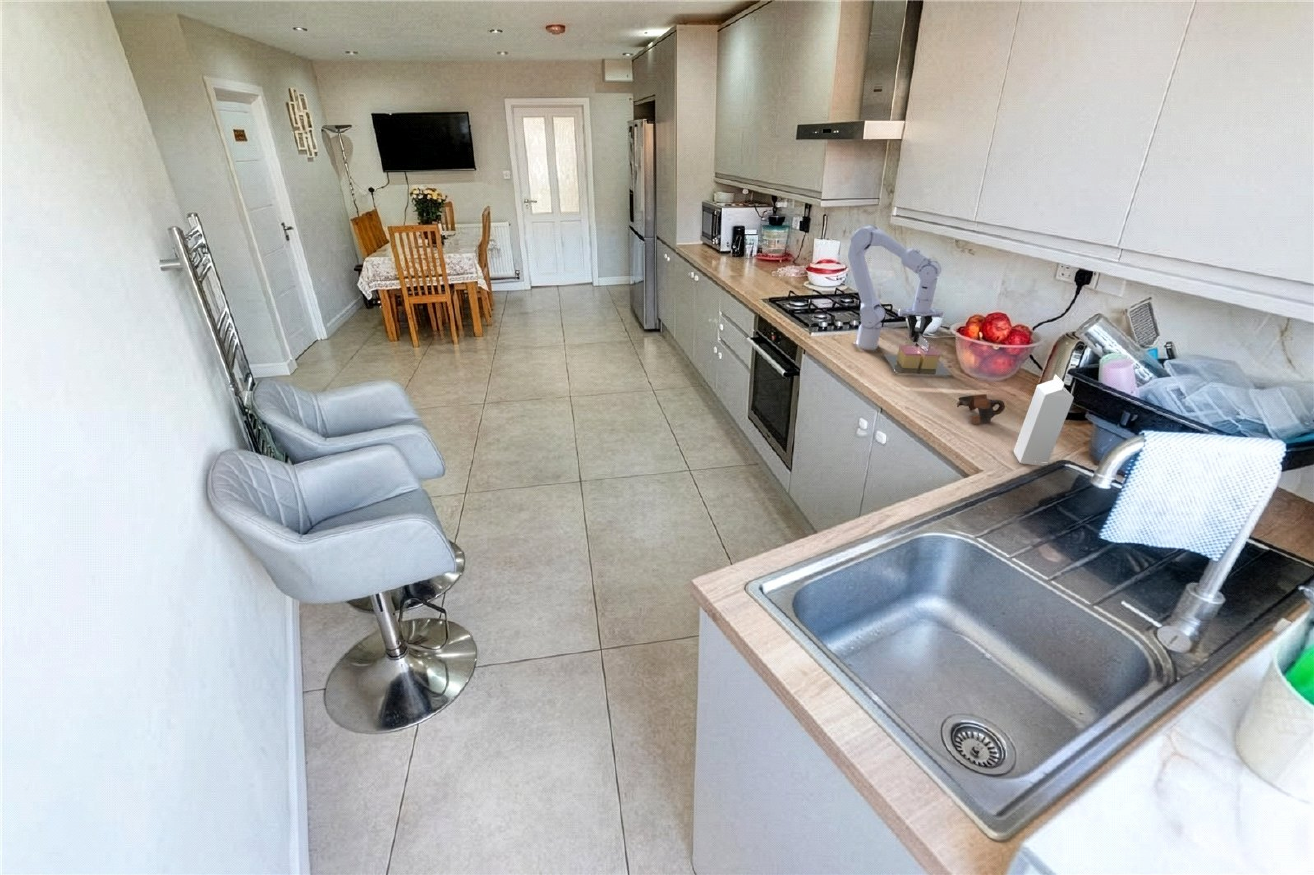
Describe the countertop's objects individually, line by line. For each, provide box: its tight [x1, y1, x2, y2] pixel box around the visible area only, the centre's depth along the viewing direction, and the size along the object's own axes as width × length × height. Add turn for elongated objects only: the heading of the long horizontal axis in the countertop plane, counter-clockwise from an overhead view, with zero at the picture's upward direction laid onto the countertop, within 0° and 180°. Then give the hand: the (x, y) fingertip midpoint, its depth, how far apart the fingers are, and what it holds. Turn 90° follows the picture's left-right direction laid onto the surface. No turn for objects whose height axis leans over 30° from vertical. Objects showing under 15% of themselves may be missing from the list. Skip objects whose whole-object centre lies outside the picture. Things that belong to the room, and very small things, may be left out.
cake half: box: [897, 345, 921, 369], centre depth 195 cm, size 8×5×5 cm, turn 174°
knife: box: [908, 326, 931, 354], centre depth 195 cm, size 17×2×4 cm, turn 174°
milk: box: [1013, 374, 1075, 467], centre depth 136 cm, size 6×6×22 cm
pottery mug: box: [956, 393, 1006, 425], centre depth 161 cm, size 12×10×8 cm
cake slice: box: [916, 345, 941, 369], centre depth 195 cm, size 8×5×5 cm, turn 174°
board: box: [883, 354, 952, 376], centre depth 197 cm, size 18×18×1 cm
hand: (915, 336), depth 200 cm, fingers closed on knife, 2 cm apart
